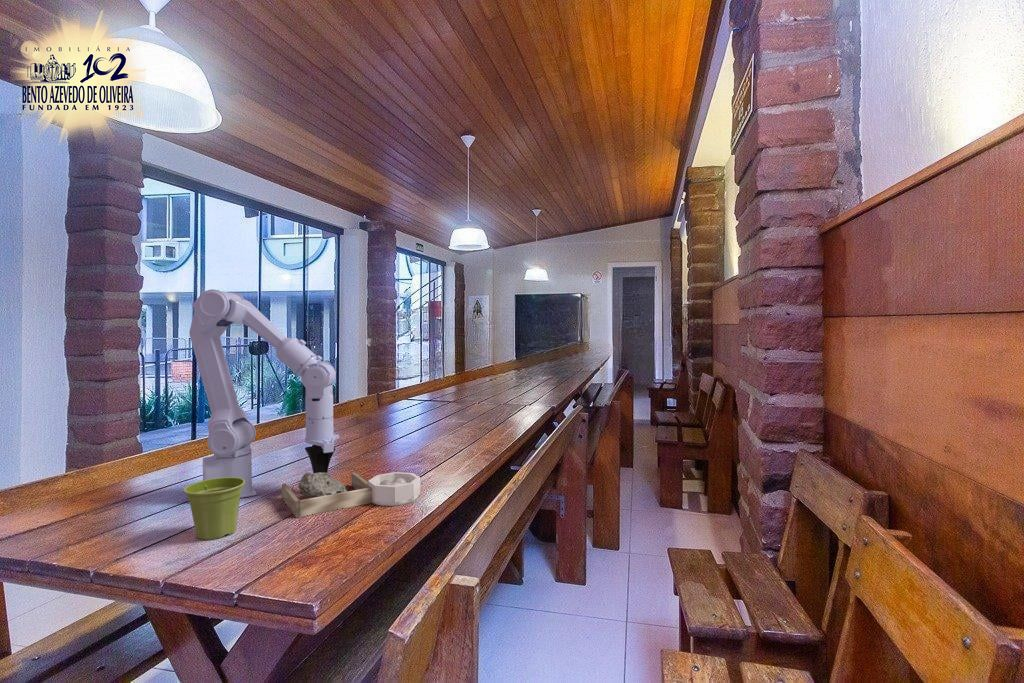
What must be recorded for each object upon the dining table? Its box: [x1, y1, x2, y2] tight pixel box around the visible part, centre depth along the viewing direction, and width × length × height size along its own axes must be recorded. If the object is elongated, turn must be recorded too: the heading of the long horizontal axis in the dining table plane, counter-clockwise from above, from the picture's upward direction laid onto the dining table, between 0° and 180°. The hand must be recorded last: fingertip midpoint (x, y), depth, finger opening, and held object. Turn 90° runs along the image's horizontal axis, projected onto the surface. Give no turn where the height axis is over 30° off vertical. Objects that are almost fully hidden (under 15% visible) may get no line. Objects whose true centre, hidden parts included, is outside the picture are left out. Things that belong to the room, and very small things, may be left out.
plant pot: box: [183, 477, 245, 541], centre depth 90 cm, size 9×9×9 cm
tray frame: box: [281, 471, 373, 519], centre depth 108 cm, size 16×14×3 cm
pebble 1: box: [379, 480, 392, 485], centre depth 109 cm, size 3×3×3 cm
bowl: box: [367, 471, 421, 507], centre depth 109 cm, size 10×10×4 cm
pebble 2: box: [393, 478, 406, 484], centre depth 110 cm, size 3×3×3 cm
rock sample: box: [296, 470, 348, 498], centre depth 109 cm, size 10×8×9 cm
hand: (320, 478), depth 113 cm, fingers closed
